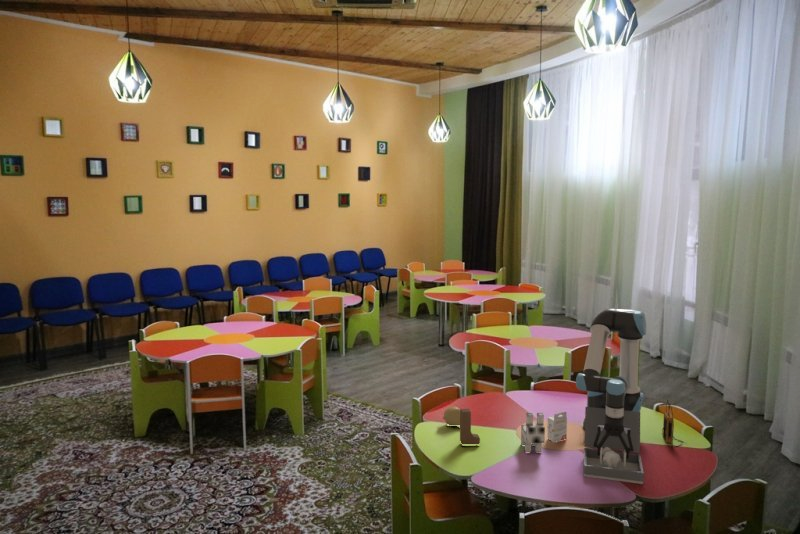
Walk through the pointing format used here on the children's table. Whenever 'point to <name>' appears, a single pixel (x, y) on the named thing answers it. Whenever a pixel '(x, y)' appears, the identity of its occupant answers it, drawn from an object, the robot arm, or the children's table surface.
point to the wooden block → (467, 428)
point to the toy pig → (452, 416)
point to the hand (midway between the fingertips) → (612, 463)
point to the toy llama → (533, 432)
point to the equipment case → (618, 473)
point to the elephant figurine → (610, 457)
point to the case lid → (614, 443)
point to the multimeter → (668, 426)
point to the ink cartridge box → (557, 427)
